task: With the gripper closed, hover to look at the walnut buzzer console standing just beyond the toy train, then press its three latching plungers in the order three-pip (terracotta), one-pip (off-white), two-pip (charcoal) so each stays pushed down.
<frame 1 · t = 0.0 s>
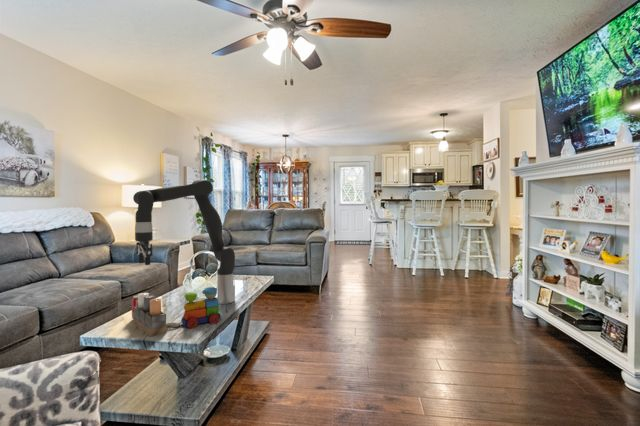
hand: (144, 263, 157), 29 cm above the table, fingers open, 8 cm apart
plunger 3: (155, 307, 145), point 12 cm above the table, slide at 0.0 cm
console: (149, 328, 150), on the table
toy train: (193, 324, 156), on the table
plunger 1: (143, 300, 155), point 12 cm above the table, slide at 0.0 cm
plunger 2: (149, 303, 150), point 12 cm above the table, slide at 0.0 cm
soda can: (139, 319, 162), on the table
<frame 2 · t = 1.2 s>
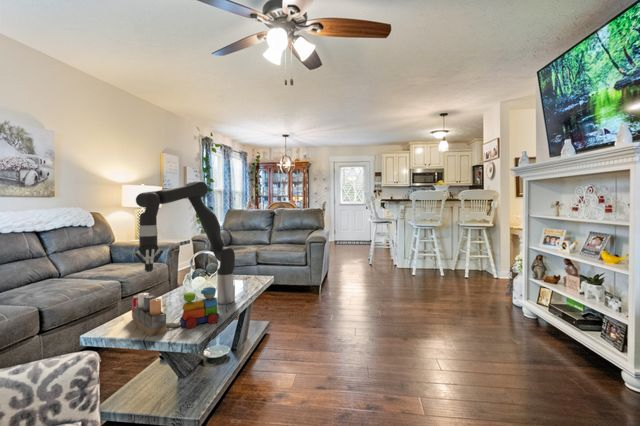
hand: (148, 271, 150), 27 cm above the table, fingers closed
nothing on the table moved.
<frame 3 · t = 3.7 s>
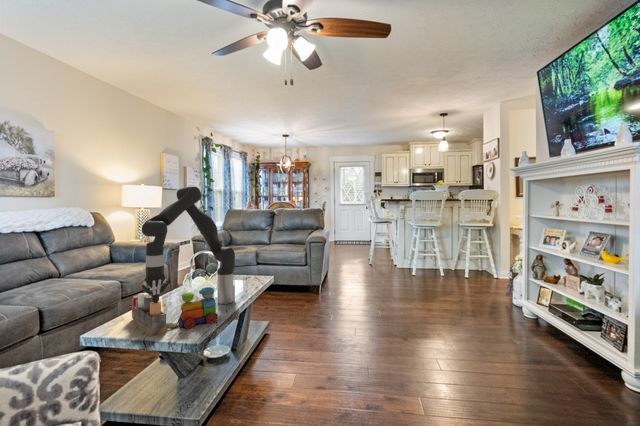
hand: (155, 302, 145), 14 cm above the table, fingers closed
plunger 3: (155, 309, 145), point 10 cm above the table, slide at 1.3 cm, touching gripper
toy train: (190, 325, 155), on the table, touching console
everything else where it was.
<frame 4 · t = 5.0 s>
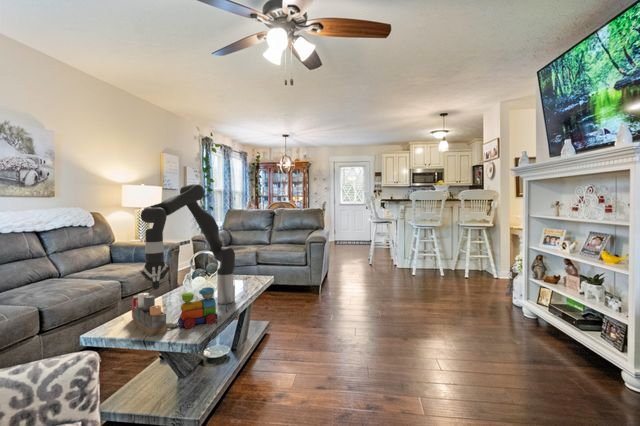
hand: (155, 289, 145), 20 cm above the table, fingers closed
plunger 3: (155, 313, 145), point 8 cm above the table, slide at 3.1 cm
toy train: (190, 325, 155), on the table
everything else where it was.
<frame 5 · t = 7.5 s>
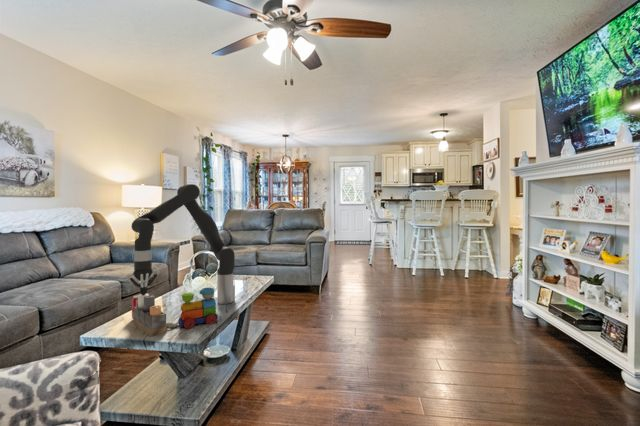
hand: (143, 294, 155), 15 cm above the table, fingers closed
toy train: (190, 325, 155), on the table, touching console
plunger 1: (143, 301, 155), point 11 cm above the table, slide at 0.5 cm, touching gripper
everything else where it was.
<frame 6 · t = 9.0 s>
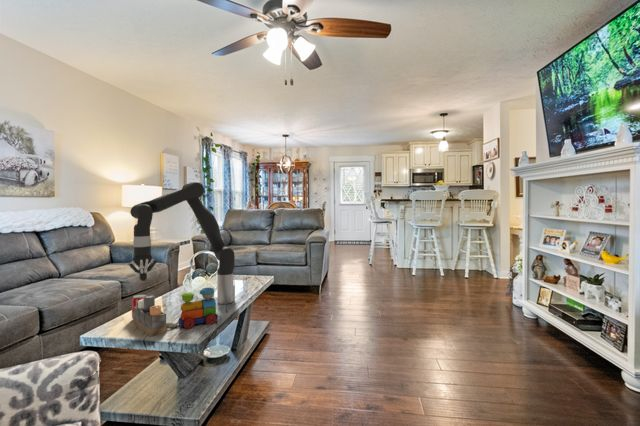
hand: (143, 280, 155), 21 cm above the table, fingers closed
plunger 1: (143, 306, 155), point 8 cm above the table, slide at 3.1 cm
everything else where it was.
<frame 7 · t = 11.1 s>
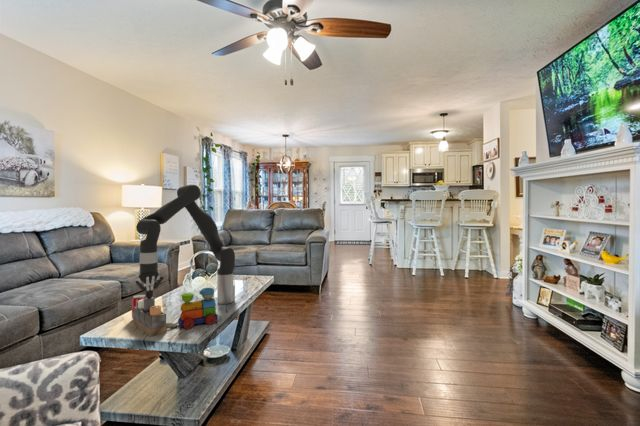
hand: (149, 298, 150), 14 cm above the table, fingers closed
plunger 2: (149, 305, 150), point 11 cm above the table, slide at 0.7 cm, touching gripper
everything else where it was.
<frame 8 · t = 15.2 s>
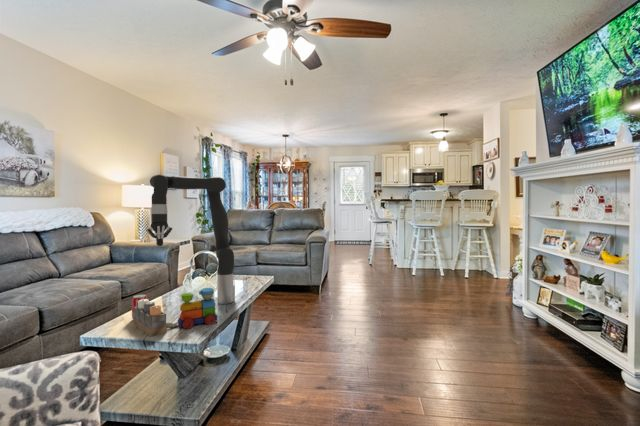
hand: (159, 245, 166), 37 cm above the table, fingers closed
toy train: (189, 325, 155), on the table
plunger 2: (149, 310, 150), point 8 cm above the table, slide at 3.1 cm
everything else where it was.
at the end: plunger 1 slide at 3.1 cm; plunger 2 slide at 3.1 cm; plunger 3 slide at 3.1 cm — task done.
